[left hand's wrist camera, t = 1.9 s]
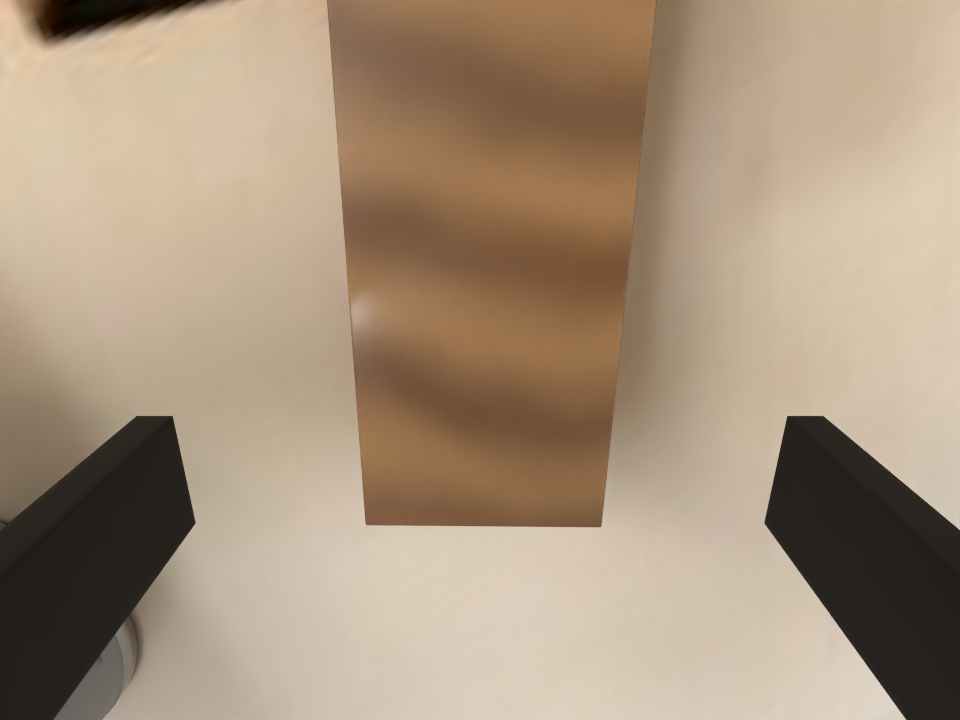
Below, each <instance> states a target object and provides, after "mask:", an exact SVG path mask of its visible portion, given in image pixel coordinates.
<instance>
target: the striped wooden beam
mask: <svg viewBox="0 0 960 720" xmlns="http://www.w3.org/2000/svg"><path fill="white" fill-rule="evenodd" d="M327 5H328V19H329V32H330V46H331V59H332V73H333V87H334V100H335V114H336V127H337V141H338V155H339V168H340V182H341V195H342V209H343V223H344V236H345V250H346V263H347V277H348V291H349V304H350V318H351V331H352V345H353V359H354V372H355V386H356V399H357V413H358V427H359V440H360V454H361V467H362V481H363V494H364V508H365V522H366V525H412V526H527V527H601V525H602V516H603V506H604V497H605V487H606V477H607V468H608V458H609V449H610V439H611V430H612V420H613V411H614V401H615V392H616V382H617V372H618V363H619V353H620V344H621V334H622V325H623V315H624V306H625V296H626V287H627V277H628V267H629V258H630V248H631V239H632V229H633V220H634V210H635V201H636V191H637V181H638V172H639V162H640V153H641V143H642V134H643V124H644V115H645V105H646V96H647V86H648V76H649V67H650V57H651V48H652V38H653V29H654V19H655V10H656V0H327Z"/></svg>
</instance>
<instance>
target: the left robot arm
mask: <svg viewBox="0 0 960 720" xmlns="http://www.w3.org/2000/svg"><path fill="white" fill-rule="evenodd" d="M194 525H195V518H194V514H193V509H192V504H191V500H190V495H189V490H188V486H187V481H186V476H185V472H184V467H183V462H182V458H181V453H180V448H179V444H178V439H177V434H176V430H175V425H174V420H173V416H136V417H135V418H134V419H133V420H132V421H130V422H129V423H128V424H127V425H126V426H124V427H123V428H122V429H121V430H120V431H118V432H117V433H116V434H115V435H114V436H112V437H111V438H110V439H109V440H108V441H106V442H105V443H104V444H103V445H102V446H100V447H99V448H98V449H97V450H96V451H94V452H93V453H92V454H91V455H90V456H88V457H87V458H86V459H85V460H84V461H82V462H81V463H80V464H79V465H78V466H76V467H75V468H74V469H73V470H72V471H70V472H69V473H68V474H67V475H66V476H65V477H63V478H62V479H61V480H60V481H59V482H57V483H56V484H55V485H54V486H53V487H51V488H50V489H49V490H48V491H47V492H45V493H44V494H43V495H42V496H41V497H39V498H38V499H37V500H36V501H35V502H33V503H32V504H31V505H30V506H29V507H27V508H26V509H25V510H24V511H23V512H21V513H20V514H19V515H18V516H17V517H15V518H14V519H13V520H12V521H11V522H9V523H8V524H3V523H0V720H102V719H103V718H104V717H105V715H106V714H107V713H108V712H109V711H110V710H111V708H112V707H113V706H114V705H115V703H116V701H117V700H118V698H119V697H120V695H121V694H122V692H123V690H124V689H125V687H126V686H127V684H128V682H129V681H130V679H131V677H132V674H133V672H134V669H135V665H136V661H137V639H136V633H135V629H134V626H133V623H132V620H131V618H130V616H129V615H130V613H131V612H132V610H133V609H134V608H135V606H136V605H137V604H138V602H139V601H140V599H141V598H142V597H143V595H144V594H145V592H146V591H147V590H148V588H149V587H150V586H151V584H152V583H153V581H154V580H155V579H156V577H157V576H158V574H159V573H160V572H161V570H162V569H163V568H164V566H165V565H166V563H167V562H168V561H169V559H170V558H171V556H172V555H173V554H174V552H175V551H176V550H177V548H178V547H179V545H180V544H181V543H182V541H183V540H184V538H185V537H186V536H187V534H188V533H189V532H190V530H191V529H192V527H193V526H194ZM765 525H766V526H767V527H768V529H769V530H770V532H771V533H772V534H773V536H774V537H775V538H776V540H777V541H778V543H779V544H780V545H781V547H782V548H783V550H784V551H785V552H786V554H787V555H788V556H789V558H790V559H791V561H792V562H793V563H794V565H795V566H796V568H797V569H798V570H799V572H800V573H801V574H802V576H803V577H804V579H805V580H806V581H807V583H808V584H809V586H810V587H811V588H812V590H813V591H814V592H815V594H816V595H817V597H818V598H819V599H820V601H821V602H822V604H823V605H824V606H825V608H826V609H827V610H828V612H829V613H830V615H831V616H832V617H833V619H834V620H835V622H836V623H837V624H838V626H839V627H840V628H841V630H842V631H843V633H844V634H845V635H846V637H847V638H848V640H849V641H850V642H851V644H852V645H853V646H854V648H855V649H856V651H857V652H858V653H859V655H860V656H861V658H862V659H863V660H864V662H865V663H866V664H867V666H868V667H869V669H870V670H871V671H872V673H873V674H874V676H875V677H876V678H877V680H878V681H879V682H880V684H881V685H882V687H883V688H884V689H885V691H886V692H887V694H888V695H889V696H890V698H891V699H892V700H893V702H894V703H895V705H896V706H897V707H898V709H899V710H900V712H901V713H902V714H903V716H904V717H905V718H906V720H960V530H959V529H958V528H957V527H955V526H954V525H953V524H952V523H951V522H949V521H948V520H947V519H946V518H945V517H943V516H942V515H941V514H940V513H939V512H937V511H936V510H935V509H934V508H933V507H931V506H930V505H929V504H928V503H927V502H925V501H924V500H923V499H922V498H921V497H919V496H918V495H917V494H916V493H915V492H913V491H912V490H911V489H910V488H909V487H907V486H906V485H905V484H904V483H903V482H901V481H900V480H899V479H898V478H897V477H895V476H894V475H893V474H892V473H891V472H890V471H888V470H887V469H886V468H885V467H884V466H882V465H881V464H880V463H879V462H878V461H876V460H875V459H874V458H873V457H872V456H870V455H869V454H868V453H867V452H866V451H864V450H863V449H862V448H861V447H860V446H858V445H857V444H856V443H855V442H854V441H852V440H851V439H850V438H849V437H848V436H846V435H845V434H844V433H843V432H842V431H840V430H839V429H838V428H837V427H836V426H834V425H833V424H832V423H831V422H830V421H828V420H827V419H826V418H825V417H824V416H787V420H786V425H785V430H784V434H783V439H782V444H781V448H780V453H779V458H778V462H777V467H776V472H775V476H774V481H773V486H772V490H771V495H770V500H769V504H768V509H767V514H766V518H765Z"/></svg>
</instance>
